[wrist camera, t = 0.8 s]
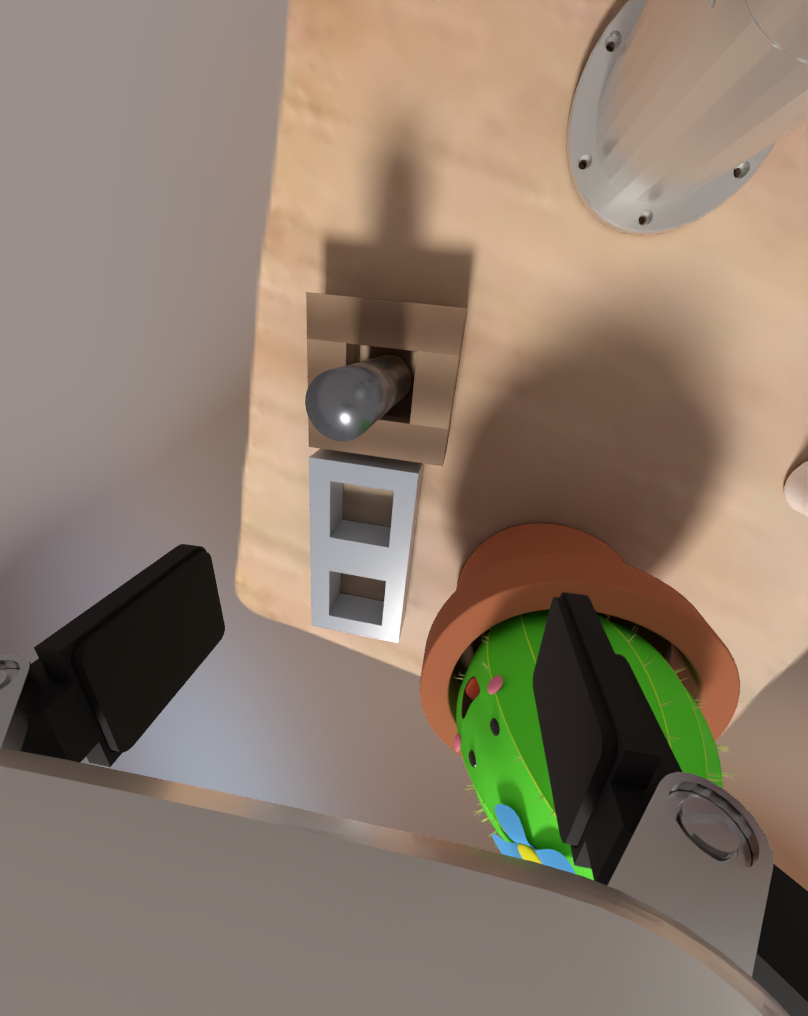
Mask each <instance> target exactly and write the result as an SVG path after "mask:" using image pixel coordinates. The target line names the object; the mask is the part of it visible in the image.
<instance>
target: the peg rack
mask: <svg viewBox="0 0 808 1016" xmlns="http://www.w3.org/2000/svg"><path fill="white" fill-rule="evenodd" d="M422 471H423V463H418V462H411V461H404V460H397V459H391V458H384V457H377V456H370V455H363V454H356V453H349V452H343V451H336V450H329V449H322V448H321V449H319V450H318V451H317V452H315V453H314V454H313V455H311V456H310V457H309V482H310V544H311V606H312V626H315V627H320V628H325V629H330V630H335V631H340V632H345V633H350V634H355V635H360V636H365V637H370V638H375V639H380V640H385V641H390V642H395V643H398V642H399V638H400V634H401V630H402V626H403V622H404V617H405V609H406V601H407V593H408V585H409V577H410V569H411V561H412V553H413V544H414V536H415V528H416V520H417V512H418V504H419V496H420V488H421V480H422ZM343 483H345V484H352V485H358V486H364V487H371V488H377V489H384V490H390V491H394V498H393V509H392V520H391V527H385V526H379V525H373V524H367V523H361V522H355V521H349V520H343V519H342V513H343ZM341 573H344V574H350V575H355V576H361V577H366V578H372V579H377V580H383V581H386V586H385V597H384V601H380V600H374V599H369V598H364V597H359V596H353V595H348V594H343V593H340V590H341Z"/></svg>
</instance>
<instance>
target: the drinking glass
mask: <svg viewBox="0 0 808 1016" xmlns="http://www.w3.org/2000/svg"><path fill="white" fill-rule="evenodd" d="M784 497H785V500H786V501H787V503H788V504H789V505H790V506H791V507H792V508H793V509H794V510H796V511H798V512H799V513H801V514H803V515H805V516H807V517H808V461H806V462H804V463H802V464H801V465H800V466H798V467H797V468H796V469H795V470H794V471H793V472H792V473H791V474H790V476H789V477H788V479H787V481H786V483H785V486H784Z"/></svg>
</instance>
